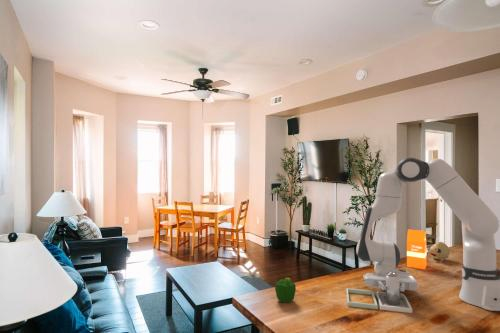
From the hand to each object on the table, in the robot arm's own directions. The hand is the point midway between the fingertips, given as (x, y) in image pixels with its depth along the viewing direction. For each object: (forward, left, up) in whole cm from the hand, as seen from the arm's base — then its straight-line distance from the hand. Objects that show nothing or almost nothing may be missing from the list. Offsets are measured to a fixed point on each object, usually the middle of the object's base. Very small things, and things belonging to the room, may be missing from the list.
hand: (393, 288), depth 123 cm
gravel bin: (0, -1, -8) cm, 8 cm away
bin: (+12, -1, -8) cm, 14 cm away
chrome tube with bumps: (0, -1, -6) cm, 6 cm away
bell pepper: (+43, +4, -8) cm, 43 cm away
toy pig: (-36, -73, -8) cm, 82 cm away
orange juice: (-21, -58, -8) cm, 62 cm away
